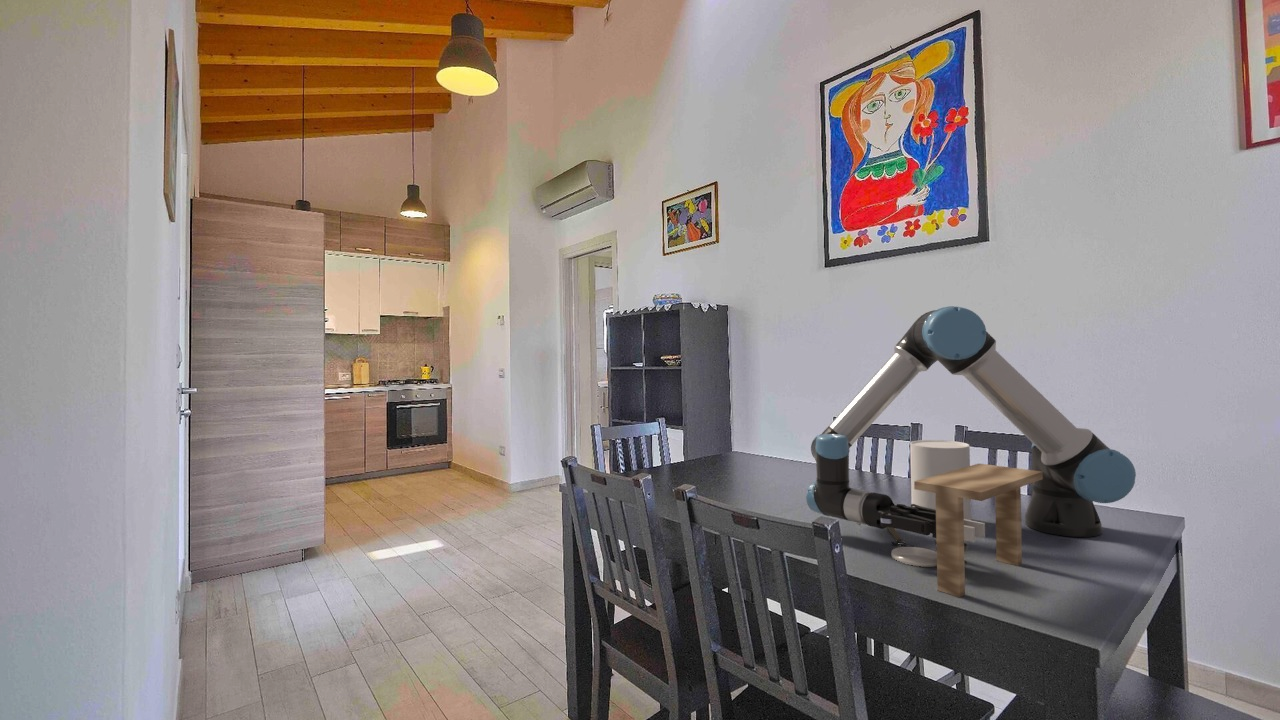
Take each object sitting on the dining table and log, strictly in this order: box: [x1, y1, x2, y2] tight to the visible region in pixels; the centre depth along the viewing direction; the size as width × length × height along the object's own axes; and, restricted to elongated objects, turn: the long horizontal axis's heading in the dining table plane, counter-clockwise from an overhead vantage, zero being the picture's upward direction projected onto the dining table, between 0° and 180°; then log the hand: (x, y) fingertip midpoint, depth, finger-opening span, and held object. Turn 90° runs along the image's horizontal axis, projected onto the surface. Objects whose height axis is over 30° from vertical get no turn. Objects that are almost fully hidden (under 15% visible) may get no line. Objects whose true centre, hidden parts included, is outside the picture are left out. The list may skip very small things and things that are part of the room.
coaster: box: [890, 546, 937, 568], centre depth 125 cm, size 10×10×1 cm
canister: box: [909, 439, 972, 521], centre depth 150 cm, size 14×14×20 cm
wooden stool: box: [914, 463, 1043, 598], centre depth 114 cm, size 12×26×20 cm, turn 126°
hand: (978, 532), depth 114 cm, fingers closed on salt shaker, 4 cm apart
